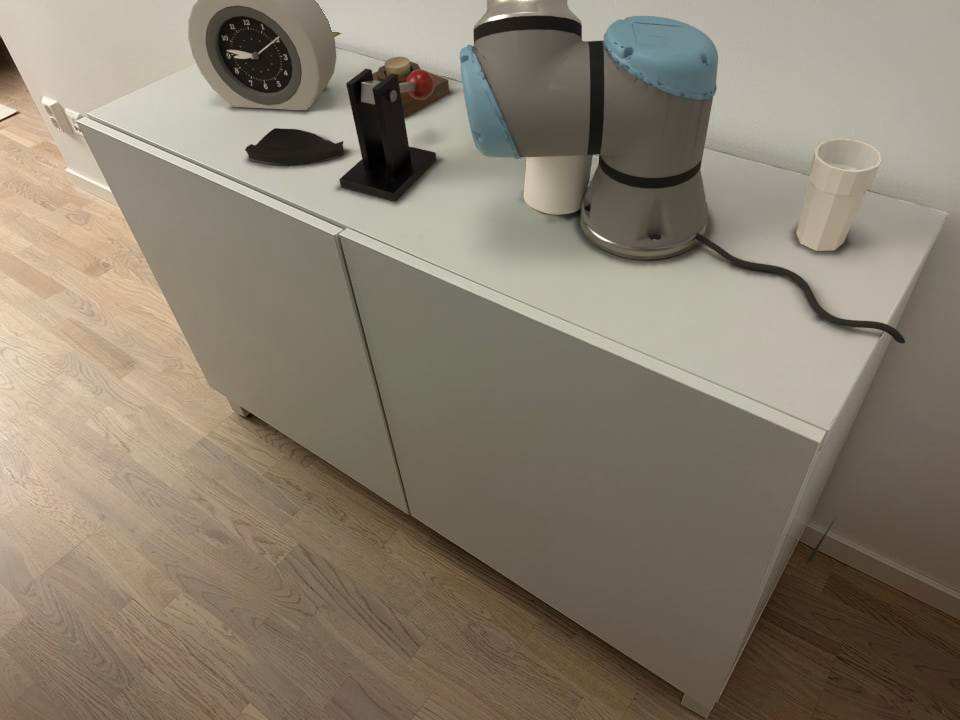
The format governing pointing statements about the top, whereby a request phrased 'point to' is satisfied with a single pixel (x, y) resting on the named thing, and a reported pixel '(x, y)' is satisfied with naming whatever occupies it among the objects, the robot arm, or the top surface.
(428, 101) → the button block
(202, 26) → the alarm clock
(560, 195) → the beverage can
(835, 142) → the cup
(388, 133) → the bracket
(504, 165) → the top surface
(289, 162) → the curved wedge
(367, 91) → the lever
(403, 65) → the button
